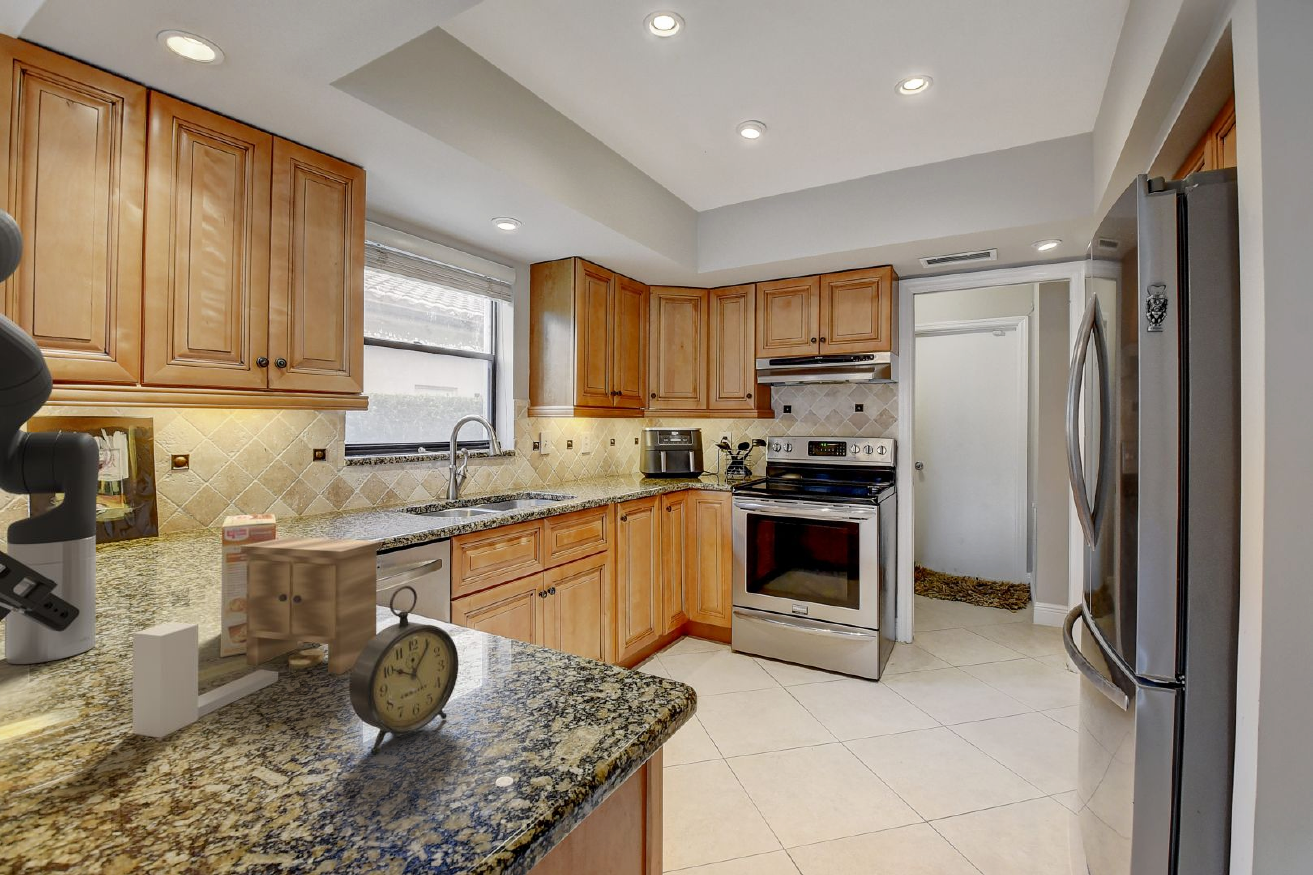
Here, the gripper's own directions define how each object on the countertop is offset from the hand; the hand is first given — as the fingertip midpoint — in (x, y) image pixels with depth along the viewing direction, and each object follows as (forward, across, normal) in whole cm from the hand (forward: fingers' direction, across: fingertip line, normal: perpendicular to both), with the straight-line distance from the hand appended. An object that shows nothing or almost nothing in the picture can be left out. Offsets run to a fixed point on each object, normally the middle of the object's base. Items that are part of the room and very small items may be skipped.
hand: (35, 618), depth 54 cm
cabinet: (+33, 0, -11) cm, 35 cm away
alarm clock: (+23, -27, 0) cm, 35 cm away
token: (+33, 0, -10) cm, 35 cm away
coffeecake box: (+37, +17, -15) cm, 43 cm away
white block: (+23, 0, -1) cm, 23 cm away
